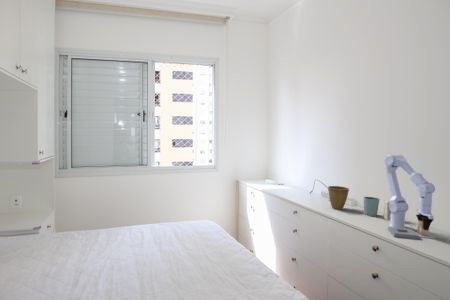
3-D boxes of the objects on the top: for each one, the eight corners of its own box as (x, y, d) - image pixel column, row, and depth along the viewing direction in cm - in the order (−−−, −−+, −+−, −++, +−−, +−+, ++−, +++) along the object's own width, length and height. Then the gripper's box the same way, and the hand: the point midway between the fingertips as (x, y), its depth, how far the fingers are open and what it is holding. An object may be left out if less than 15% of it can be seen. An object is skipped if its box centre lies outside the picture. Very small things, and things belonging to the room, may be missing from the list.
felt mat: (412, 232, 184) (412, 231, 184) (429, 234, 182) (429, 233, 182) (417, 237, 176) (417, 235, 176) (435, 238, 173) (435, 237, 173)
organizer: (388, 229, 188) (388, 226, 188) (410, 232, 185) (410, 228, 185) (394, 236, 174) (394, 233, 174) (418, 239, 171) (419, 235, 171)
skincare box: (392, 218, 216) (393, 200, 215) (395, 220, 211) (396, 202, 211) (383, 218, 215) (384, 200, 215) (386, 220, 211) (387, 201, 210)
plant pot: (323, 208, 242) (324, 186, 241) (333, 205, 252) (334, 185, 251) (341, 211, 231) (342, 189, 230) (351, 209, 241) (352, 188, 240)
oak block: (417, 232, 181) (418, 220, 181) (424, 233, 181) (425, 220, 180) (420, 234, 177) (421, 222, 177) (428, 235, 177) (429, 222, 176)
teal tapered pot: (359, 213, 227) (360, 197, 226) (369, 212, 231) (370, 196, 231) (372, 217, 218) (372, 199, 217) (381, 216, 222) (382, 198, 222)
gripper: (411, 201, 186) (410, 224, 186) (424, 207, 171) (422, 232, 172) (424, 202, 185) (423, 225, 186) (438, 207, 171) (436, 233, 171)
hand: (423, 228), depth 179 cm, fingers closed on oak block, 4 cm apart
